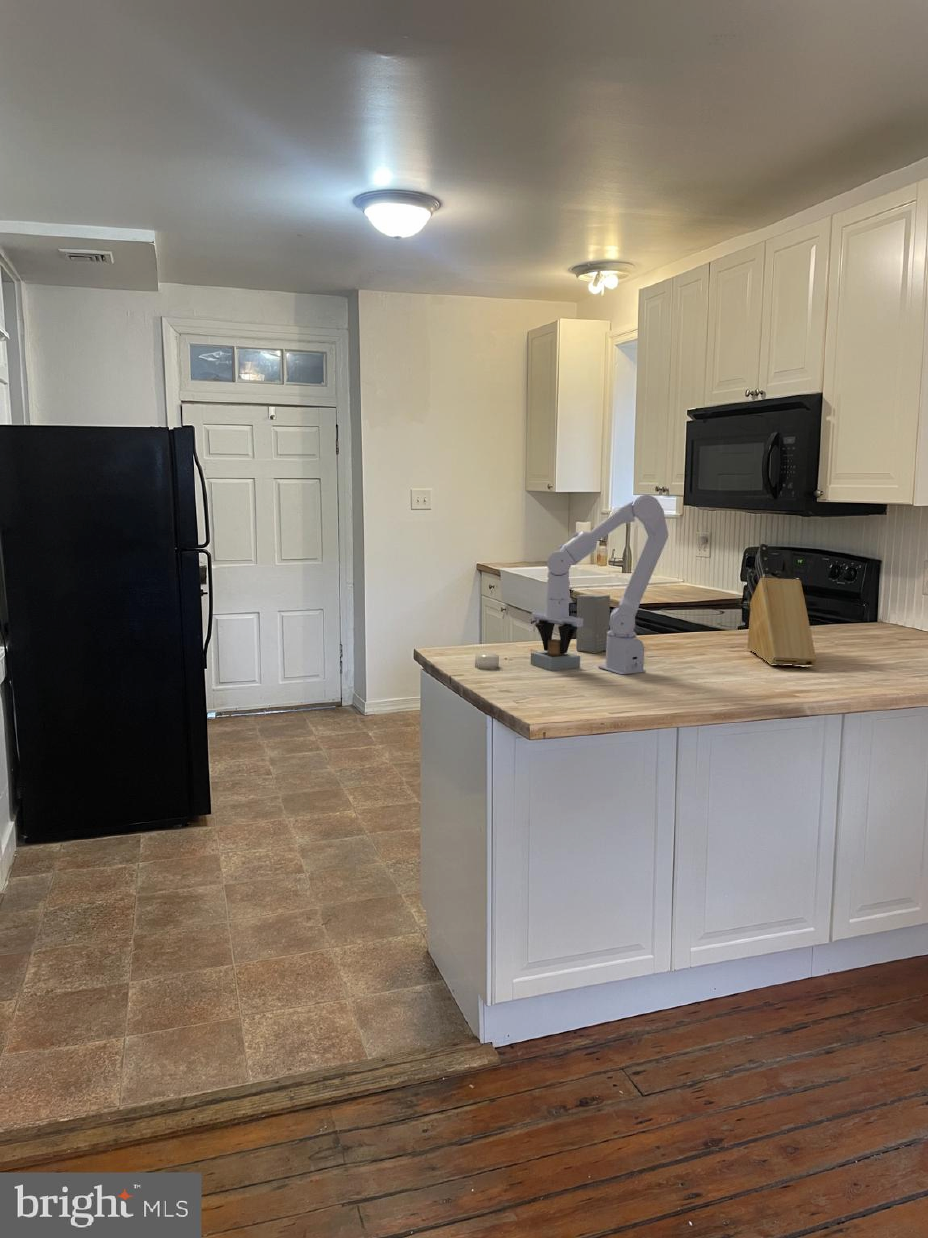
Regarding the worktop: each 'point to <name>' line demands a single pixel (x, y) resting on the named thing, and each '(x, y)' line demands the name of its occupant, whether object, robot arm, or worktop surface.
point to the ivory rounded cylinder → (486, 660)
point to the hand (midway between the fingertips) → (555, 651)
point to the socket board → (555, 661)
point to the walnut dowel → (554, 648)
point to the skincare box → (593, 622)
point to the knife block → (778, 614)
